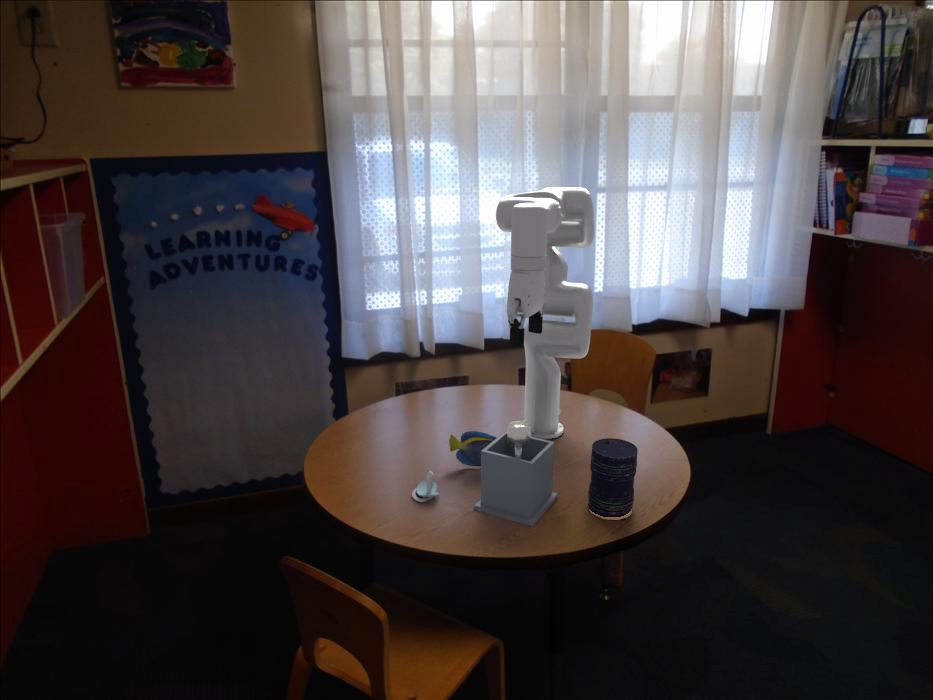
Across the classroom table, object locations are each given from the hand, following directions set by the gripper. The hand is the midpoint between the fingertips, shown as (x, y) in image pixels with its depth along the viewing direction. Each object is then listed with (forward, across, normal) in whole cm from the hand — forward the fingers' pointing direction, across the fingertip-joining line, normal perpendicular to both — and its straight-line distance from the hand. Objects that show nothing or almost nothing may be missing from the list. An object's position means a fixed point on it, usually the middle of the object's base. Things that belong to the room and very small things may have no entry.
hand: (526, 338), depth 152 cm
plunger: (+32, +10, +3) cm, 34 cm away
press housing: (+35, +10, +3) cm, 37 cm away
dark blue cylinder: (+36, +2, +22) cm, 42 cm away
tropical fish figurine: (+36, -1, -12) cm, 38 cm away
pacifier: (+36, +18, -16) cm, 43 cm away
